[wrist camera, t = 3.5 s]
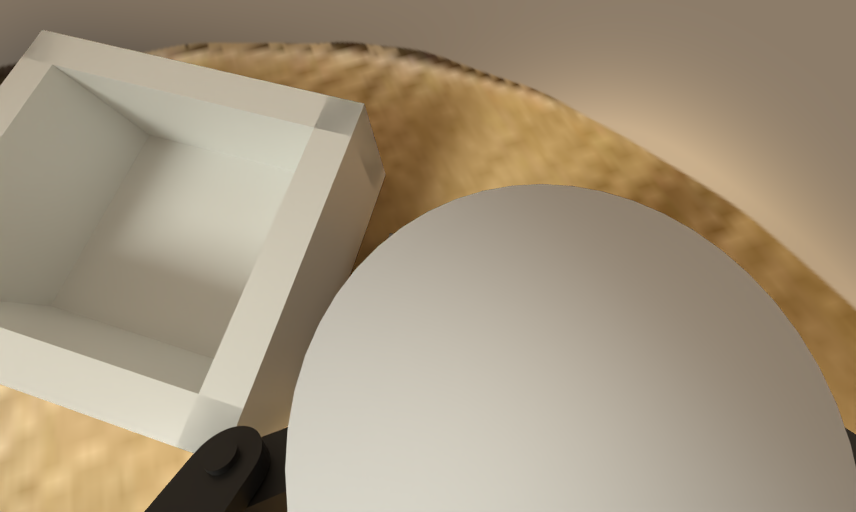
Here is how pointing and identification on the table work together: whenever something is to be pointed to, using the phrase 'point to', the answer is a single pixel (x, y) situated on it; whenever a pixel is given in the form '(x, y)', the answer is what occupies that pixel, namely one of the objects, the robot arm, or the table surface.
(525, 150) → the table surface
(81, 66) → the bin
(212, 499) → the robot arm
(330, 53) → the table surface
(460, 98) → the table surface
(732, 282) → the knob
